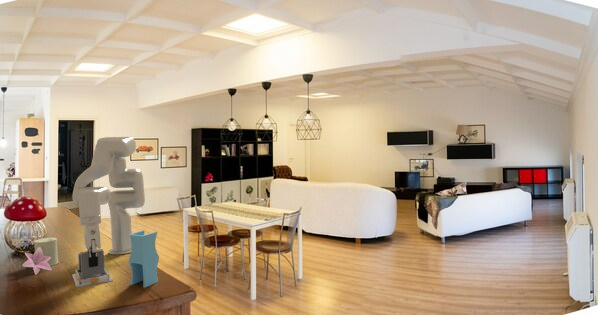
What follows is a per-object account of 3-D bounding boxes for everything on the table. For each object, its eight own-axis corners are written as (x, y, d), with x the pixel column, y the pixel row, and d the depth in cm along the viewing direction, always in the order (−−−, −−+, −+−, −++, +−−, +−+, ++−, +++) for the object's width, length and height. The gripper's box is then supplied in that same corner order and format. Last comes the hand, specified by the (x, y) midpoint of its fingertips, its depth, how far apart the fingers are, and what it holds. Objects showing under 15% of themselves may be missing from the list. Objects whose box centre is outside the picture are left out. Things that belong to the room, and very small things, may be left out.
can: (47, 267, 186) (46, 241, 185) (30, 266, 187) (28, 241, 187) (63, 261, 195) (61, 236, 194) (46, 260, 196) (45, 236, 196)
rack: (105, 269, 180) (104, 248, 180) (112, 280, 165) (111, 257, 165) (72, 275, 173) (70, 253, 173) (76, 288, 158) (75, 263, 158)
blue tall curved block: (160, 280, 164) (157, 231, 163) (145, 287, 157) (142, 236, 156) (145, 278, 167) (143, 230, 166) (130, 285, 160) (127, 234, 159)
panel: (103, 270, 168) (102, 248, 168) (104, 272, 165) (103, 250, 165) (81, 274, 164) (80, 252, 163) (82, 276, 161) (81, 254, 161)
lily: (17, 280, 173) (25, 261, 171) (16, 263, 181) (24, 245, 180) (48, 281, 181) (56, 263, 179) (46, 265, 189) (54, 248, 188)
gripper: (104, 222, 159) (106, 268, 160) (97, 216, 173) (100, 259, 173) (82, 224, 155) (84, 272, 156) (77, 218, 168) (80, 262, 169)
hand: (92, 264), depth 164 cm, fingers closed on panel, 3 cm apart
